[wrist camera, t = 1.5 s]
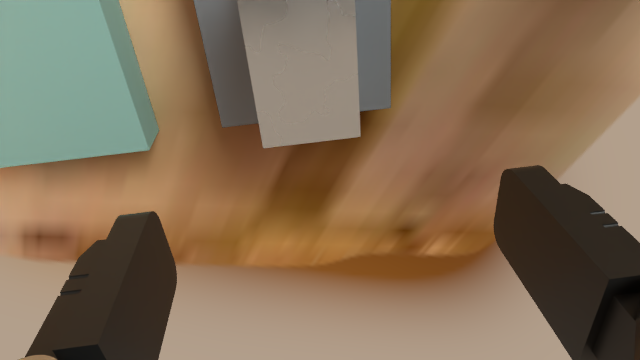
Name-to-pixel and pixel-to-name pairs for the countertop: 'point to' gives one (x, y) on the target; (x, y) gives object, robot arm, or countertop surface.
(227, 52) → the stand
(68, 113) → the stand
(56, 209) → the countertop surface
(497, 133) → the countertop surface
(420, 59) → the countertop surface
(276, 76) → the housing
